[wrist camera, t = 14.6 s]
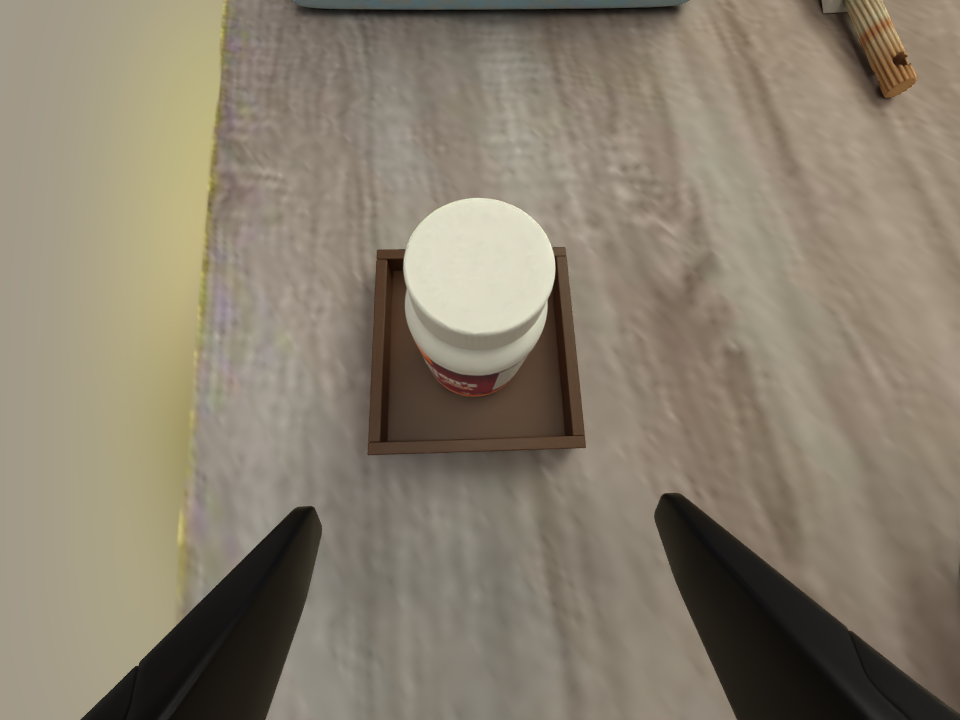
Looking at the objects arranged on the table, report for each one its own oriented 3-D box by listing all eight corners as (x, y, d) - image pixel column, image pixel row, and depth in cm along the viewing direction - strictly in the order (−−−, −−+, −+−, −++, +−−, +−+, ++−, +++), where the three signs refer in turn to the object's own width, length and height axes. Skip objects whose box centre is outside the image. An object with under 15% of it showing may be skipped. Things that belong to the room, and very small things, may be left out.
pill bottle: (408, 361, 22) (344, 279, 11) (464, 290, 23) (458, 153, 12) (485, 418, 21) (501, 391, 10) (539, 341, 22) (605, 244, 11)
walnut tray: (574, 447, 21) (586, 447, 19) (377, 453, 21) (367, 455, 19) (557, 263, 25) (565, 246, 22) (385, 266, 24) (376, 249, 22)
